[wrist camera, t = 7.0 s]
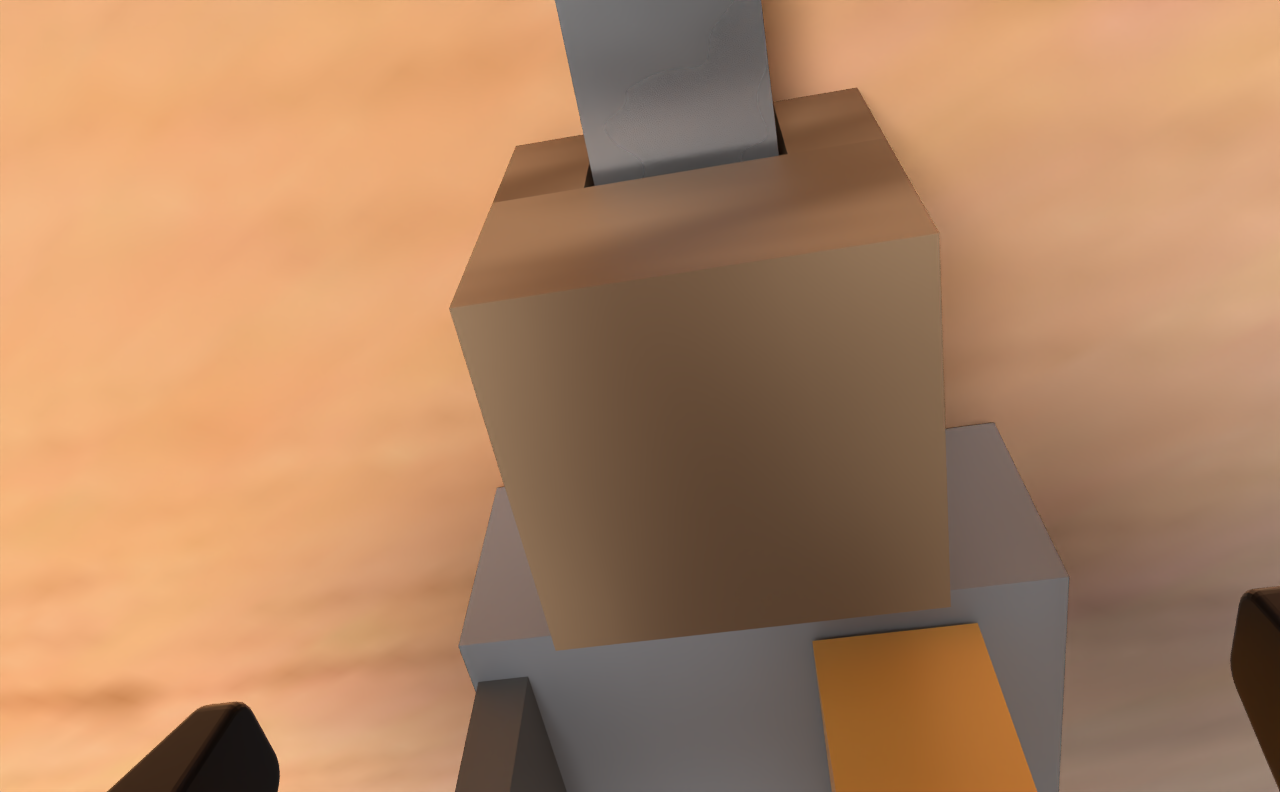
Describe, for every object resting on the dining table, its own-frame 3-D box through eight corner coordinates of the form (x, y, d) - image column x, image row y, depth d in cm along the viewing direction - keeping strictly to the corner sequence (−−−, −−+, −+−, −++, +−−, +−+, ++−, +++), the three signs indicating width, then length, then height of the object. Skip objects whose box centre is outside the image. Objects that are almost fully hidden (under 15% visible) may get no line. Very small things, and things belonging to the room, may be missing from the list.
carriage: (857, 87, 15) (938, 233, 10) (877, 384, 17) (951, 607, 13) (516, 145, 15) (449, 308, 11) (585, 424, 18) (555, 650, 13)
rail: (669, -704, 11) (668, -815, 9) (804, 438, 18) (820, 523, 16) (448, -645, 11) (397, -738, 9) (671, 455, 18) (670, 541, 16)
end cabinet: (994, 422, 18) (1134, 710, 12) (994, 636, 21) (1109, 949, 15) (497, 488, 19) (425, 778, 14) (558, 682, 22) (519, 992, 16)
